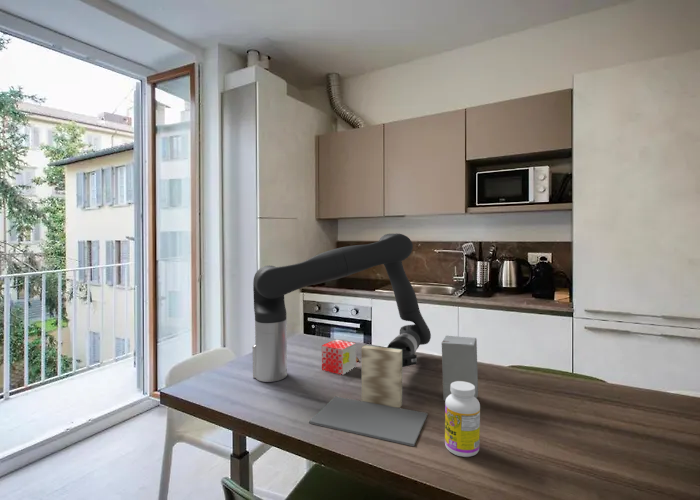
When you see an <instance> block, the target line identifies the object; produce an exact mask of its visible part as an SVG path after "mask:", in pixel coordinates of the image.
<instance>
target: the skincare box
mask: <svg viewBox="0 0 700 500" xmlns="http://www.w3.org/2000/svg"><path fill="white" fill-rule="evenodd" d="M477 341H478V339H477V337H469V336H467V337H466V336H457V335H456V336H455V335H454V336H453V335H445V337H443V339H442V341H441V360H442V361H441V363H442V364H441V365H442V366H441V367H442V393H443V395H442V397H443V398H442V400H443V401H446V398H447V397H448V396H449V395H450V394H452V393H451V391H450V385H451V383H453V382H456V381H464V382H468V383H471V384H473V385H474V386H475V395H474V397H475V398H476V399H477V400H478V397H479V396H478V395H479V382H478V381H479V380H478V379H479V378H478V377H479V375H478V374H479V373H478V344H477Z"/></svg>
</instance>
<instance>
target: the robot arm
mask: <svg viewBox="0 0 700 500" xmlns="http://www.w3.org/2000/svg"><path fill="white" fill-rule="evenodd" d="M413 246H414V245H413V242H412V240H411V239H410V238H409V237H408V236H407V235H405V234H403V233H397V232H395V233H386V234H383V235H382V236H381V237H380V238H379V240H378V241H375V242H373V243H368V244H357V245H355V244H354V245H347V246H343V247H341V246H340V247H338V248H334V249H330V250H329V249H328V250H327V251H324V252H320V253H318V254H317V255H314V256H311V257H310V258H308V259H306V260H303V261H302V262H298V263H293V264H288V265H283V266H274V265H264V266H262V267H260V268H259V269H258V270H257V271H256V272H255V274H254V276H253V282H252V285H253V287H252V288H253V289H252V290H253V312H254V330H255V331H254V333H255V334H254V335H255V337H254V339H255V340H254V341H255V343H254V345H252V378H254V379H256V380H257V381H259V382H266V383H270V382H278V381H279V382H280V381H282V380H283V379H286V377H288V352H287V351H288V348H287V347H288V341H287V338H288V337H287V336H288V335H287V334H288V333H287V331H288V330H287V329H288V327H287V325H288V323H287V322H288V321H287V308H286V303H285V295H288V294H290V293H292V292H295V291H297V290H299V289H303V288H305V287H309V286H312V285H318V284H319V285H320V284H322V283H326V282H331V281H335V280H339V279H342V278H345V277H349V276H351V275H353V274H357V273H359V272H360V273H361V272H363V271H365V270H369V269H370V268H373V267H376V266H381V265H383V266H384V268H385V270H386V274H387V276H388V279H389V282H390V284H391V287H392V290H393V293H394V297H395V302H396V306H397V309H398V314H399V317H400V319H401V320H402V321H405V322H411V323H413V324H406V325H403V326H401V327H400V329H399V334H398V335H397V336H395V337H394V338H393V339H392V340H391V341H390V342H389V343H388V345H387V347H386V348H394V349H402V368H406V367H410V366H414V365H417V362H418V361H417V360H418V359H417V356H418V355H417V354H416V352H417V350H418V349H419V347H420V346H423V345H427V344H429V343H430V341H431V338H432V335H431V330H430V328H429V326H428V324H427V323H426V320H425V319H424V317H423V315H422V313H421V310H420V307H419V302H418V299H417V295H416V294H417V293H416V292H415V290H414V287H413V285H412V283H411V282H410V280H409V278H408V276H407V274H406V271H405V268H404V265H403V261H405V260H407V258H409V257H410V255H411V254H412V251H413V248H414V247H413Z"/></svg>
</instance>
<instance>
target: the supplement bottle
mask: <svg viewBox="0 0 700 500" xmlns="http://www.w3.org/2000/svg"><path fill="white" fill-rule="evenodd" d="M450 391H451V393H452V394H450V395H449V396H448V397H447V398H446V401H445V402H444V405H445V409H444V410H445V411H444V444H445V448H446V449H447V450H448V452H450V453H451V454H453V455H455V456H458V457H461V458H462V457H464V458H470V457H473V456H476V455H477V454H478V453H479V451H480V438H481V437H480V436H481V435H480V432H481V431H480V430H481V429H480V427H481V420H480V419H481V404H480V403H481V402H479V399H478V398H477V399H476V398H475V397H474V395H475V386H474V385H473V384H471V383H468V382H464V381H456V382H453V383H451V385H450Z"/></svg>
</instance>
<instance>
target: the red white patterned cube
mask: <svg viewBox="0 0 700 500" xmlns="http://www.w3.org/2000/svg"><path fill="white" fill-rule="evenodd" d="M356 357H357V343H356V342H352V341H347V340H341V339H334V340H331V341H329V342H327V343H324V344H322V345H321V371H324V370H325V372H328V371H329V373H333V374H337V375H341V374H342V375H341V376H343V375H346V372H347V373H348V372H350V371H352V370H354V369H355V368H357V362H356ZM354 367H355V368H354ZM353 368H354V369H353ZM351 369H352V370H351ZM349 370H350V371H349Z"/></svg>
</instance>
